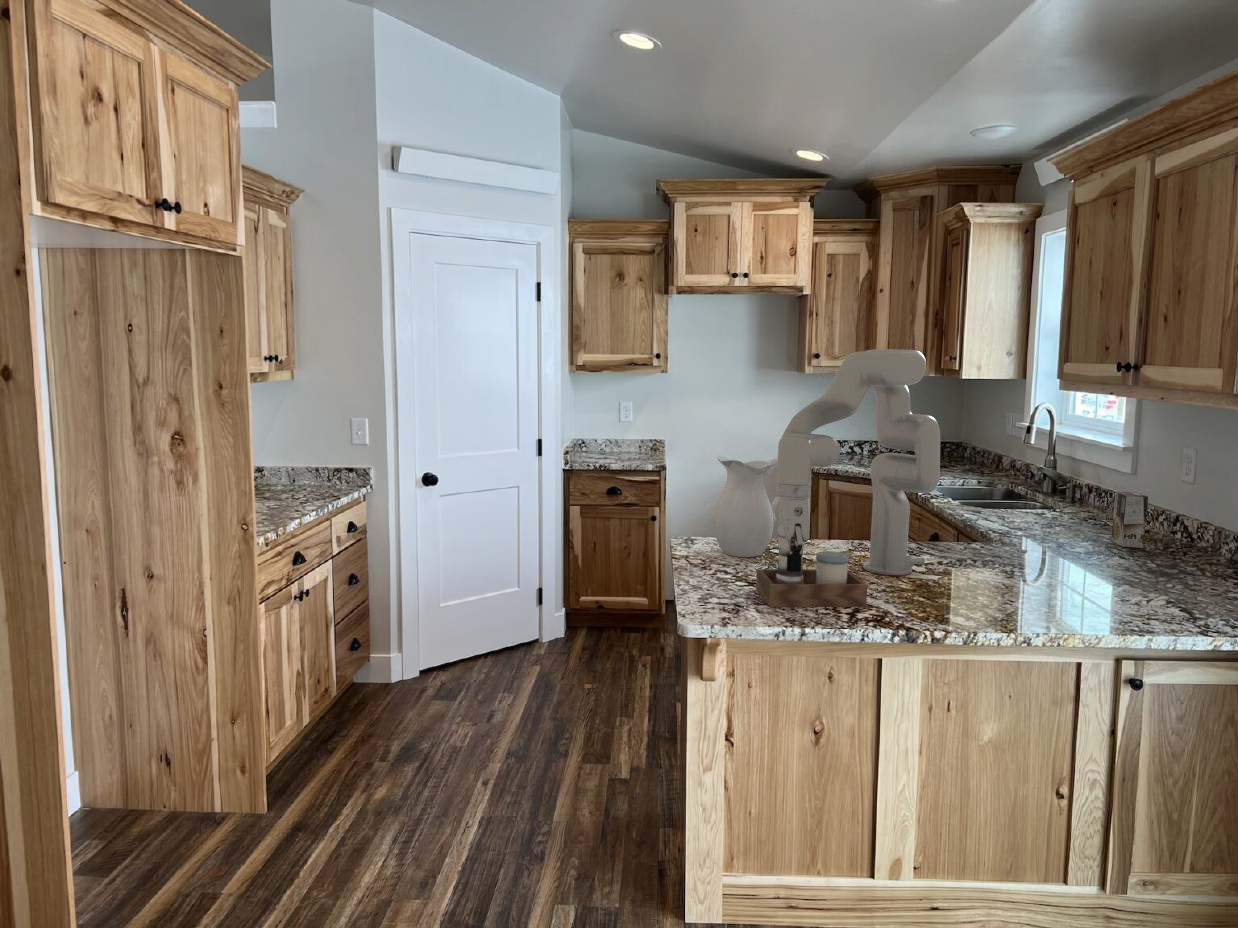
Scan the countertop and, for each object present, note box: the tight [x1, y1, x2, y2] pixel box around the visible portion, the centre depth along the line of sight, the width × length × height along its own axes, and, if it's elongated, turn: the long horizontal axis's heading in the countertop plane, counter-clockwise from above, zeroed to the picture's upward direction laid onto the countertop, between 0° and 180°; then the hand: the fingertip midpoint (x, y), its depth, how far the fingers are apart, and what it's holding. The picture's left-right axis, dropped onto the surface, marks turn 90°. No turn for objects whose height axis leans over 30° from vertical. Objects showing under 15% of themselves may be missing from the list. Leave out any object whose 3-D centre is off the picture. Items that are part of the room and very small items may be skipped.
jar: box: [815, 550, 850, 584], centre depth 196 cm, size 7×7×10 cm
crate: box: [755, 568, 868, 608], centre depth 196 cm, size 22×14×6 cm, turn 94°
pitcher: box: [713, 456, 780, 558], centre depth 243 cm, size 24×17×28 cm
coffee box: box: [1110, 491, 1149, 549], centre depth 263 cm, size 9×6×16 cm
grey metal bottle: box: [775, 510, 806, 584], centre depth 195 cm, size 6×7×20 cm
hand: (790, 567), depth 195 cm, fingers closed on grey metal bottle, 5 cm apart
